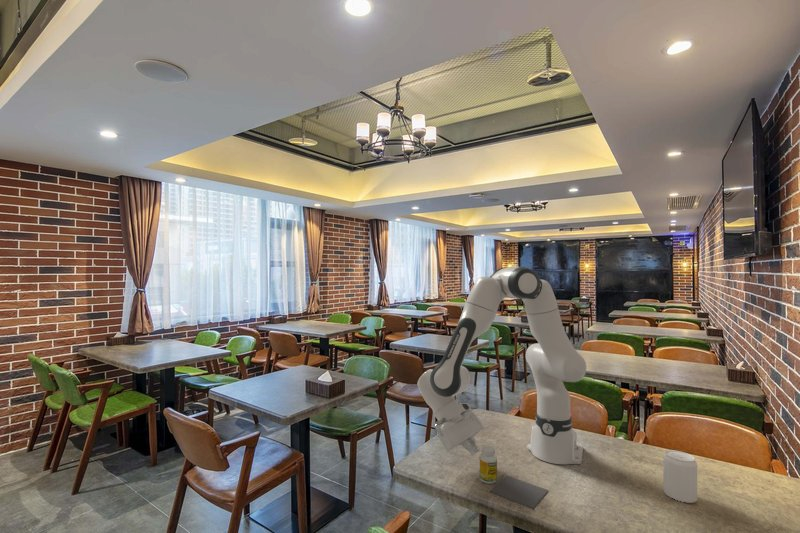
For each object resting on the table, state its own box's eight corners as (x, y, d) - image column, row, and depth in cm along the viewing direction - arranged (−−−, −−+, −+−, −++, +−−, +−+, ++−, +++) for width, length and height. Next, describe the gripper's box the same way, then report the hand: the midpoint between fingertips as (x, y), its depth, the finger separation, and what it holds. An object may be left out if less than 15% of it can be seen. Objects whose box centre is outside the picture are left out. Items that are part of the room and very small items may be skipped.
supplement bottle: (487, 473, 124) (488, 443, 125) (500, 481, 120) (501, 449, 120) (475, 478, 121) (476, 447, 122) (488, 486, 117) (488, 453, 117)
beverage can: (698, 508, 108) (698, 464, 108) (663, 498, 112) (663, 457, 113) (695, 494, 115) (695, 453, 115) (662, 486, 119) (662, 447, 119)
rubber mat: (506, 476, 123) (506, 475, 123) (548, 491, 115) (548, 490, 115) (489, 491, 114) (489, 490, 114) (533, 509, 106) (533, 508, 106)
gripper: (438, 418, 121) (465, 459, 114) (470, 402, 137) (496, 438, 130) (426, 428, 124) (452, 470, 117) (459, 412, 139) (483, 447, 133)
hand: (475, 453), depth 124 cm, fingers closed
